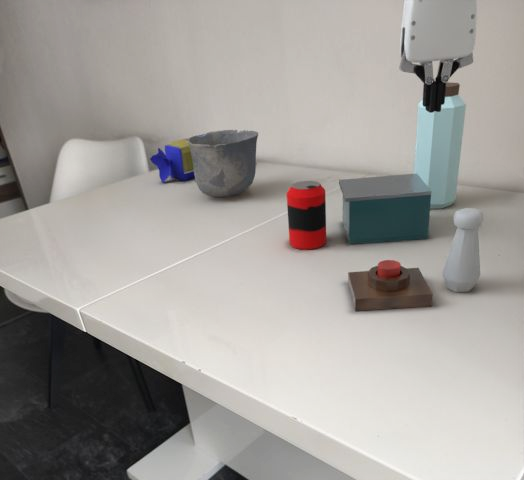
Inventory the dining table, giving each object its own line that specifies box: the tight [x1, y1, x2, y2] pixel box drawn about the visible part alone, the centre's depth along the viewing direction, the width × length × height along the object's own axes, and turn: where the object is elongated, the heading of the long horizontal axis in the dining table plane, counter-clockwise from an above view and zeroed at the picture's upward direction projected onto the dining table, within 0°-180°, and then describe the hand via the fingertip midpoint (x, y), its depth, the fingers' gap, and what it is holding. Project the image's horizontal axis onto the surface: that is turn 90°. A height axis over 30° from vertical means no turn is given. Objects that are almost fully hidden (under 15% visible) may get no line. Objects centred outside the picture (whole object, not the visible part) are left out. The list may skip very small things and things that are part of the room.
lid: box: [338, 173, 431, 202], centre depth 109 cm, size 16×13×1 cm
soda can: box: [286, 180, 327, 251], centre depth 108 cm, size 8×8×12 cm
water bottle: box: [413, 81, 467, 210], centre depth 118 cm, size 10×10×25 cm
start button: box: [377, 259, 402, 278], centre depth 87 cm, size 4×4×2 cm
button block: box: [347, 265, 434, 312], centre depth 88 cm, size 12×10×4 cm
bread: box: [149, 133, 205, 183], centre depth 163 cm, size 10×25×10 cm, turn 130°
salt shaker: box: [442, 207, 484, 293], centre depth 86 cm, size 6×6×13 cm
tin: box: [342, 195, 431, 245], centre depth 111 cm, size 16×13×9 cm
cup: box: [188, 129, 259, 198], centre depth 140 cm, size 18×18×15 cm
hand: (432, 110), depth 84 cm, fingers closed
